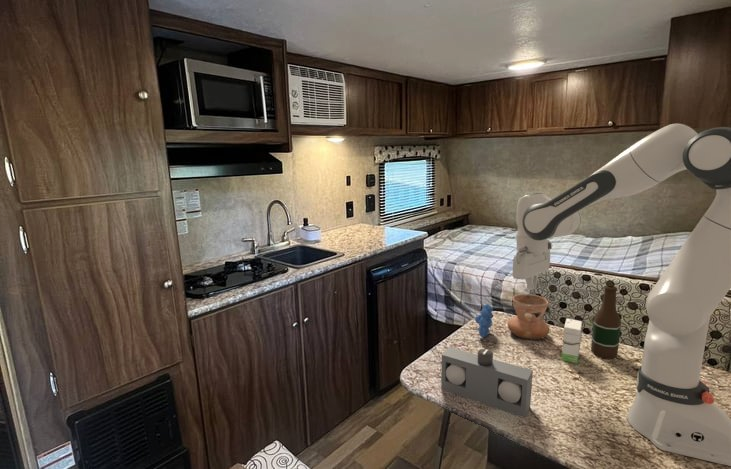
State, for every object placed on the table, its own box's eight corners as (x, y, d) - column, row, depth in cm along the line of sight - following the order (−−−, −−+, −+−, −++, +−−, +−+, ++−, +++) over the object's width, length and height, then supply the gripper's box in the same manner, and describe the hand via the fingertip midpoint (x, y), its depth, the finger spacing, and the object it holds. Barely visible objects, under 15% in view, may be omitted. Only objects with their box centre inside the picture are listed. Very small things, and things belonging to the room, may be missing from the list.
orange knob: (476, 377, 116) (477, 355, 114) (466, 390, 109) (467, 367, 108) (453, 370, 120) (454, 348, 119) (443, 382, 114) (443, 360, 112)
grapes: (478, 326, 155) (479, 298, 153) (495, 330, 151) (497, 301, 149) (469, 338, 145) (470, 308, 143) (487, 342, 142) (488, 312, 139)
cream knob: (529, 394, 107) (531, 370, 106) (522, 409, 101) (524, 384, 99) (503, 385, 111) (504, 363, 110) (494, 400, 105) (495, 376, 104)
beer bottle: (617, 351, 134) (625, 284, 129) (617, 361, 127) (625, 292, 122) (591, 346, 138) (597, 281, 133) (589, 355, 131) (596, 288, 126)
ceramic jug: (547, 348, 137) (551, 309, 134) (504, 339, 143) (507, 303, 141) (549, 328, 153) (552, 294, 150) (510, 322, 159) (512, 288, 157)
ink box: (578, 364, 126) (581, 330, 124) (561, 360, 129) (563, 327, 126) (579, 352, 134) (582, 320, 131) (563, 349, 136) (566, 317, 134)
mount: (530, 407, 106) (532, 370, 103) (525, 418, 101) (527, 380, 99) (448, 380, 119) (449, 346, 117) (441, 388, 115) (441, 354, 113)
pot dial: (494, 361, 108) (495, 350, 108) (489, 367, 105) (490, 356, 104) (480, 357, 111) (480, 346, 110) (475, 363, 107) (475, 352, 107)
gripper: (527, 249, 112) (528, 296, 113) (554, 243, 127) (553, 285, 128) (506, 248, 117) (507, 293, 118) (534, 242, 131) (534, 282, 132)
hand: (531, 289), depth 123 cm, fingers closed
